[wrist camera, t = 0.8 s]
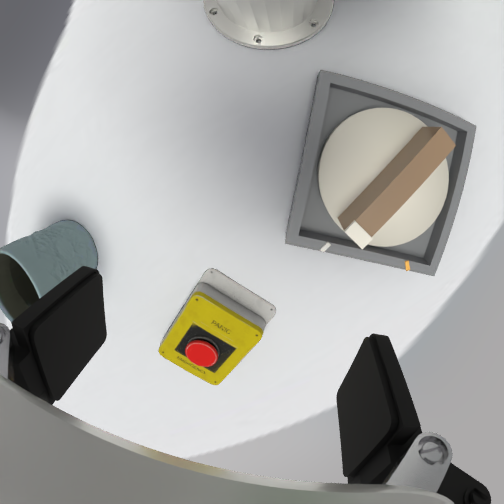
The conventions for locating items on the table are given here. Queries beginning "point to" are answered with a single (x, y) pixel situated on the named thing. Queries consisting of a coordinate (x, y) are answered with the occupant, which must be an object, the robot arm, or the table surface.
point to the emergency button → (216, 327)
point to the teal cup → (42, 264)
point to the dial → (384, 176)
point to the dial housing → (307, 189)
